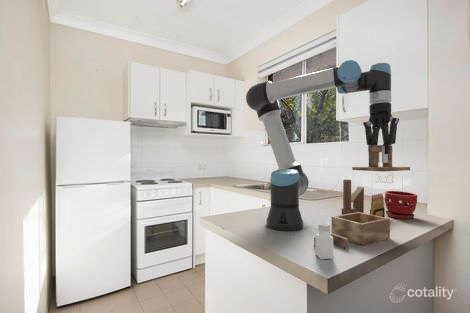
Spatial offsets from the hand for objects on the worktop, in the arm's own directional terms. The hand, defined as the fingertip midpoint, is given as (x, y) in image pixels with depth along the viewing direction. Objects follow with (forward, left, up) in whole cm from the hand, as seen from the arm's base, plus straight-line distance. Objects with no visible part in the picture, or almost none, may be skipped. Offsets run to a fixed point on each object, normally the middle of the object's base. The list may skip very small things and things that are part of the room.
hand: (380, 162), depth 97 cm
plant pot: (-8, +30, -27) cm, 41 cm away
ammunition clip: (-11, +16, -27) cm, 34 cm away
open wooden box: (+1, -15, -27) cm, 31 cm away
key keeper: (+3, -33, -27) cm, 42 cm away
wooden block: (-21, +12, -27) cm, 36 cm away
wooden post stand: (0, 0, -3) cm, 3 cm away
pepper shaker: (+7, -41, -27) cm, 49 cm away
